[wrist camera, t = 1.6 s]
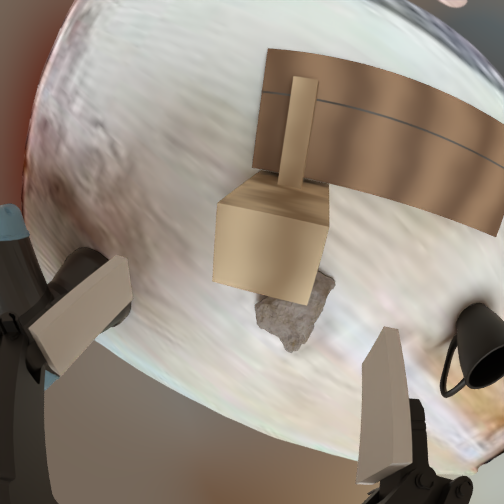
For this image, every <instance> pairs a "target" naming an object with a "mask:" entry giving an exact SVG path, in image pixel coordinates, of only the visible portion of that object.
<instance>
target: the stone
mask: <svg viewBox="0 0 504 504" xmlns="http://www.w3.org/2000/svg"><path fill="white" fill-rule="evenodd" d="M334 287H335V282H334V280H333V279H332V278H330V277H327V276H325V275H324V274H322V273H321V272H318V271H317V274H316V278H315V281H314V284H313V288H312V291H311V294H310V298H309V301H308V304H307V306H306V305H302V304H298V303H294V302H289V301H285V300H281V299H277V298H273V297H267V298H265V299H263V300H262V301H261V302H260V303H257V304H255V311H256V319H257V325H258V326H259V327H260V328H261V329H265V330H266V331H268V332H269V333H271V334H274V335H276V336H277V337H279V338H280V341H281V342H282V343H283V345H284V348H285V350H286V351H287V352H290V353H292V352H293V351H298V349H299V348H300V346H301V344H305V343H306V342H307V340H308V338H309V336H310V334H311V332H312V331H313V329H314V323H315V322H316V320H317V318H318V317H319V316H320V314H321V312H322V311H323V307H324V305H325V301H326V298H327V295H328V294H329V293H330V291H331V289H333V288H334Z"/></svg>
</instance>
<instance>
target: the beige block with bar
mask: <svg viewBox="0 0 504 504" xmlns="http://www.w3.org/2000/svg"><path fill="white" fill-rule="evenodd" d="M318 86H319V81H318V80H315V79H309V78H303V77H296V76H293V83H292V90H291V97H290V104H289V111H288V117H287V124H286V131H285V138H284V144H283V151H282V157H281V164H280V170H279V173H275V172H270V171H264V170H260V171H259V172H258V173H256V174H255V175H254V176H252V177H251V178H250V179H248V180H247V181H246V182H244V183H243V184H242V185H240V186H239V187H238V188H236V189H235V190H234V191H232V192H231V193H230V194H228V195H227V196H226V197H224V198H223V199H222V200H221V201H219V202H218V203H217V215H216V229H215V244H214V260H213V279H212V281H213V282H217V283H220V284H224V285H227V286H231V287H235V288H239V289H242V290H246V291H250V292H254V293H258V294H262V295H265V296H269V297H273V298H277V299H281V300H285V301H289V302H294V303H298V304H302V305H306V306H307V304H308V301H309V298H310V294H311V291H312V288H313V284H314V281H315V278H316V274H317V271H318V267H319V264H320V260H321V256H322V253H323V249H324V245H325V242H326V238H327V234H328V230H329V184H327V183H323V182H318V181H314V180H309V179H305V178H304V172H305V167H306V161H307V155H308V150H309V144H310V138H311V132H312V126H313V119H314V113H315V107H316V100H317V93H318Z"/></svg>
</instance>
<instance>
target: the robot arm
mask: <svg viewBox="0 0 504 504" xmlns="http://www.w3.org/2000/svg"><path fill="white" fill-rule="evenodd" d="M29 236H30V234H29V231H28V230H27V229H26V226H25V223H24V220H23V217H22V214H21V211H20V209H19V208H18V207H17V206H16V205H14V204H5V205H0V504H58V503H57V502H56V500H55V499H54V497H53V495H52V491H51V485H50V480H49V473H48V466H47V457H46V447H45V432H44V390H46V389H48V388H49V387H50V385H52V384H53V382H54V381H55V380H57V379H59V377H60V376H62V375H63V374H64V373H65V371H66V370H67V369H68V368H69V367H70V366H71V364H73V362H74V361H75V360H76V359H77V358H78V357H79V356H80V354H81V353H82V352H83V351H84V350H85V349H86V348H87V347H88V346H89V345H90V343H91V342H92V341H93V340H94V339H95V338H96V337H97V336H98V335H99V334H100V333H102V332H104V331H106V330H107V329H109V328H110V327H115V326H117V325H119V324H120V323H121V322H122V321H123V320H124V319H125V318H126V317H127V316H128V314H129V312H130V309H131V301H132V300H133V293H132V287H131V281H130V274H129V267H128V259H127V258H125V257H122V256H119V255H116V256H115V257H113V258H112V259H111V260H109V261H108V260H107V259H106V258H105V257H104V256H102V255H101V254H100V253H98V252H96V251H95V250H92V249H90V248H79V249H78V250H76V251H75V252H73V253H72V254H70V255H69V256H68V257H67V258H66V260H65V262H64V264H63V265H62V266H61V268H60V269H59V271H58V272H57V274H56V275H55V277H54V278H53V280H52V281H51V282H50V283H48V284H47V283H46V281H45V278H44V276H43V273H42V271H41V268H40V266H39V263H38V260H37V258H36V255H35V252H34V249H33V247H32V244H31V241H30V238H29ZM379 481H380V487H379V488H376V489H374V490H372V491H370V492H369V493H368V495H370V494H371V495H370V496H369V497H368V498H367V499H366V500H365V501H364V502H363V503H362V504H469V501H470V498H471V495H472V491H473V484H472V481H471V479H470V478H468V477H467V476H461V477H458V478H456V479H454V480H451V479H447V478H443V477H439V476H437V475H436V473H435V471H434V470H433V469H432V468H431V467H429V463H428V448H427V433H426V423H425V413H424V408H423V406H422V404H421V402H420V400H419V399H410V398H409V396H408V387H407V379H406V372H405V365H404V359H403V353H402V347H401V342H400V337H399V332H398V329H394V328H389V327H383V329H382V331H381V333H380V335H379V336H378V338H377V340H376V342H375V343H374V345H373V347H372V348H371V350H370V352H369V354H368V355H367V357H366V358H365V360H364V362H363V363H362V414H361V433H360V447H359V458H358V468H357V476H356V484H375V483H376V482H379Z"/></svg>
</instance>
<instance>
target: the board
mask: <svg viewBox="0 0 504 504" xmlns="http://www.w3.org/2000/svg"><path fill="white" fill-rule="evenodd" d="M293 76H296V77H303V78H309V79H315V80H318V81H319V86H318V93H317V100H316V107H315V113H314V119H313V126H312V132H311V138H310V144H309V150H308V155H307V161H306V167H305V172H304V178H308V179H313V180H317V181H321V182H326V183H330V184H334V185H338V186H342V187H346V188H350V189H354V190H358V191H362V192H365V193H369V194H373V195H376V196H380V197H383V198H387V199H390V200H394V201H397V202H400V203H403V204H407V205H410V206H413V207H416V208H419V209H422V210H425V211H428V212H431V213H434V214H437V215H440V216H443V217H446V218H448V219H451V220H454V221H456V222H459V223H462V224H464V225H467V226H470V227H472V228H475V229H477V230H480V231H482V232H485V233H487V234H489V235H492V236H494V237H496V236H497V233H498V230H499V228H500V225H501V222H502V219H503V216H504V124H502V123H501V122H499V121H497V120H496V119H494V118H492V117H491V116H489V115H487V114H486V113H484V112H482V111H480V110H479V109H477V108H475V107H473V106H471V105H469V104H467V103H465V102H463V101H461V100H459V99H457V98H455V97H453V96H451V95H449V94H447V93H445V92H442V91H440V90H438V89H436V88H433V87H431V86H428V85H426V84H423V83H421V82H418V81H416V80H413V79H410V78H407V77H405V76H402V75H399V74H396V73H393V72H389V71H386V70H383V69H380V68H376V67H373V66H369V65H365V64H361V63H357V62H353V61H349V60H344V59H340V58H335V57H330V56H324V55H319V54H312V53H306V52H298V51H290V50H281V49H269V48H268V52H267V59H266V66H265V73H264V80H263V88H262V95H261V103H260V110H259V117H258V125H257V133H256V140H255V148H254V156H253V164H252V168H257V169H262V170H268V171H273V172H279V170H280V164H281V157H282V151H283V144H284V138H285V131H286V124H287V117H288V111H289V104H290V97H291V90H292V83H293Z"/></svg>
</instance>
